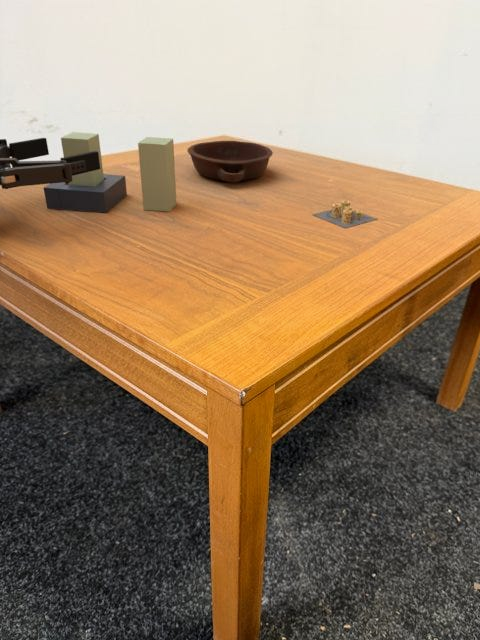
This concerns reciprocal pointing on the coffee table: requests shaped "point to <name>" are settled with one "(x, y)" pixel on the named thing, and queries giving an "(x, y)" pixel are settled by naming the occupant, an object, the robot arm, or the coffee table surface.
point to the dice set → (344, 215)
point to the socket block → (87, 195)
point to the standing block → (157, 173)
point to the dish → (230, 159)
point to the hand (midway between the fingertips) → (71, 152)
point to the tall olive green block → (80, 145)
